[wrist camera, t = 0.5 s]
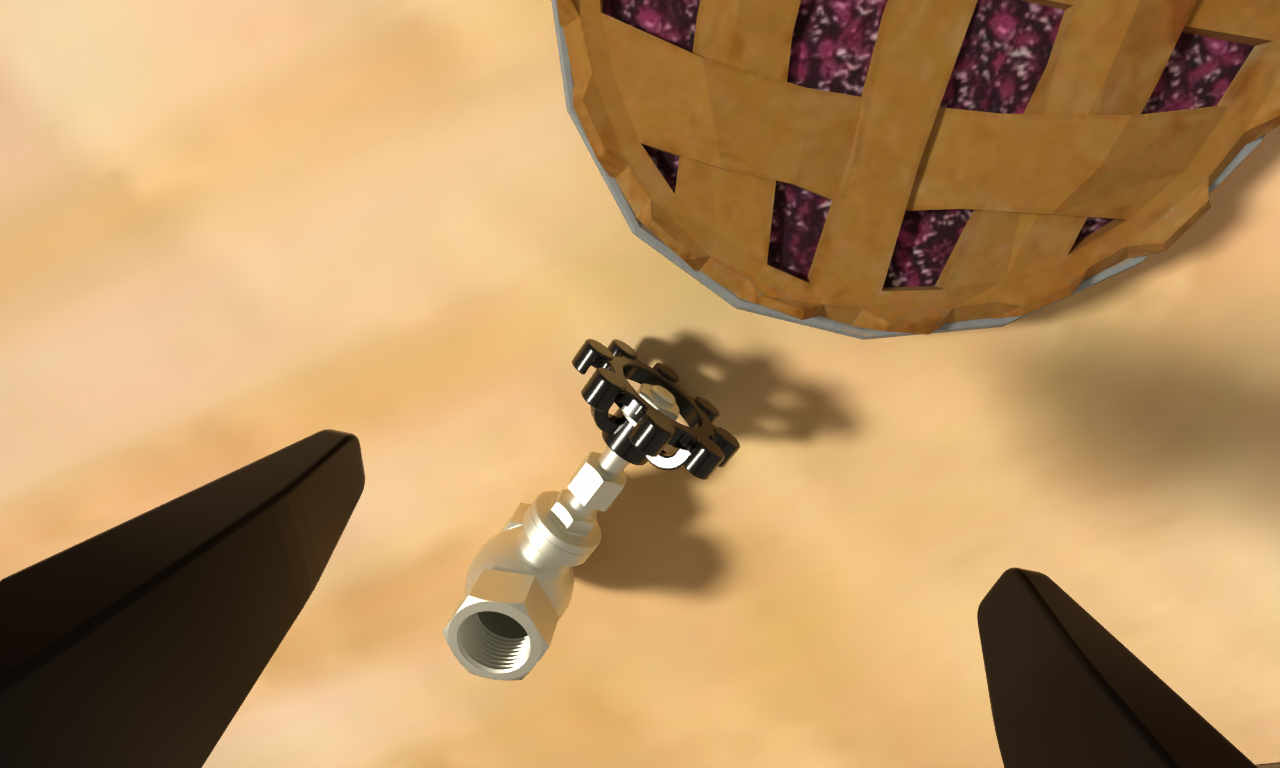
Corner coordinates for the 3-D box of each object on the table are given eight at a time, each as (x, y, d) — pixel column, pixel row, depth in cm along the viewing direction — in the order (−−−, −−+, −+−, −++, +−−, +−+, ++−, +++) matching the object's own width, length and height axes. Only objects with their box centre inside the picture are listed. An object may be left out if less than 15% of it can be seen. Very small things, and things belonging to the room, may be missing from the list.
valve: (576, 605, 28) (734, 412, 24) (542, 725, 21) (749, 489, 18) (456, 529, 27) (601, 319, 23) (385, 631, 21) (567, 365, 17)
